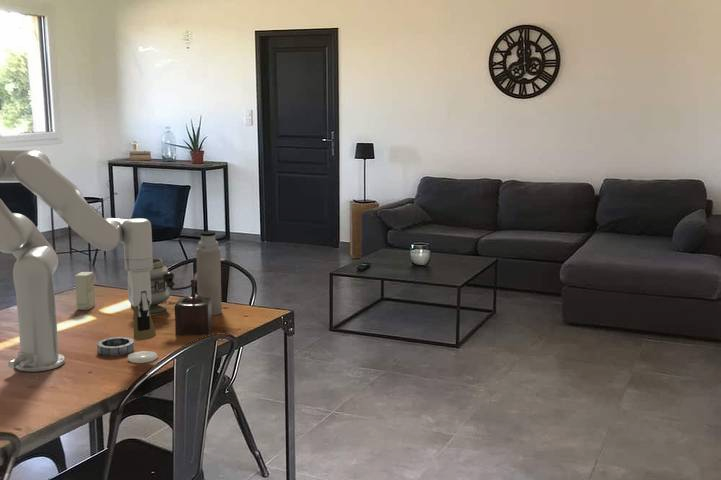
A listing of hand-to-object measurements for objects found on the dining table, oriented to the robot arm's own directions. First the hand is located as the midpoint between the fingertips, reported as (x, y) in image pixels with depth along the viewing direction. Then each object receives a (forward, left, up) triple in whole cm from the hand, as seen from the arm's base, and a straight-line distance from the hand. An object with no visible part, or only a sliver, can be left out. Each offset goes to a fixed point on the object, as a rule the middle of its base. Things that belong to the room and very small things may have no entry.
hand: (142, 327), depth 211 cm
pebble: (0, 0, -9) cm, 9 cm away
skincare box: (+38, +49, -9) cm, 63 cm away
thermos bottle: (+48, +6, -9) cm, 49 cm away
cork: (0, 0, -3) cm, 3 cm away
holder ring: (+3, +11, -9) cm, 15 cm away
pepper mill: (+28, +3, -9) cm, 30 cm away
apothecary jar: (+42, +25, -9) cm, 50 cm away
